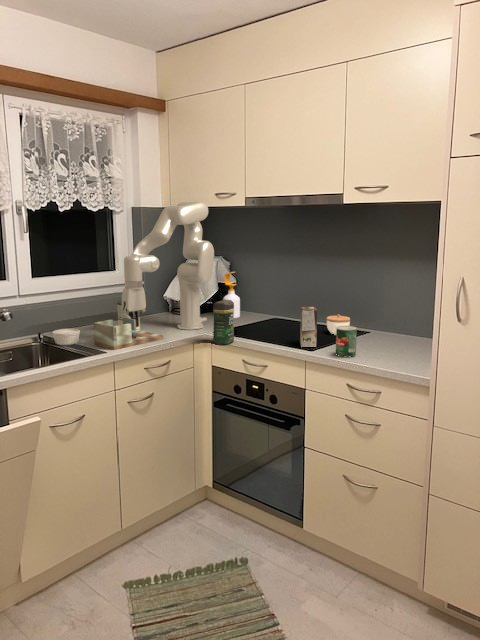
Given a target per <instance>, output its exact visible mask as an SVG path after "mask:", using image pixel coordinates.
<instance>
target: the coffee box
mask: <svg viewBox="0 0 480 640" xmlns="http://www.w3.org/2000/svg"><path fill="white" fill-rule="evenodd" d="M317 327H318V309H317V308H316V306H313V305H312V306H300V329H299V330H300V333H299V335H300V338H299V344H300V347H301V348H302V347H316V348H317V333H318V330H317V329H318V328H317Z"/></svg>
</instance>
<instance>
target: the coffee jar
mask: <svg viewBox="0 0 480 640" xmlns="http://www.w3.org/2000/svg"><path fill="white" fill-rule="evenodd" d="M212 306H213V309H212V310H213V334H212V337H213V338H212V339H213V340H212V342H213V343H214V344H216V345H229V344H231V343H233V342H234V341H235V328H234V318H233V315H234V302H233V301H232V300H223V299H222V300H219V301H215V302H214V303H213V305H212Z"/></svg>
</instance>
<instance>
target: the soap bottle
mask: <svg viewBox="0 0 480 640" xmlns="http://www.w3.org/2000/svg"><path fill="white" fill-rule="evenodd" d="M235 273H236V271H231V272H228V273H225V274H224V285H225V286H228V287H229V288H228V291H227V292H228V293H227V294H226V295H225V296H223V299H222V300H232V301H233V302H234V315H233V319H238V318H240V317H241V298H240V296H238V295H237V294H236V293H235V289H234V287H235V286H237V283H231V277H230V276H231V274H235Z"/></svg>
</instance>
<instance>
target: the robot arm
mask: <svg viewBox="0 0 480 640" xmlns="http://www.w3.org/2000/svg"><path fill="white" fill-rule="evenodd" d="M208 215H209V207H208V205H207V204H206V203H205V202H203V201H182V202H180V203H179V202H178V204H177V205H167V206H165V207H164V208H163V209H162V211H161V213H160V215H159V217H158V219H157V220H156V222H155V224H154V226H153V228H152V230H151V232H150V233H148V234H147V235H146V236H145V237H144V238H143V239H141V240H140V241H139V242H138V244H136V246H135V247H134V249H133V251H132V253H131V255H129V256H128V255H127V256H125V257H124V259H123V271H124V272H123V274H124V288H123V289H122V293H121V300H122V310H123V311H124V314H125V315H129V316H130V318H131V319H135V320H136V327H139V317H141V315H142V314H143V313H145V312H146V307H147V299H146V293H145V289H144V287H143V286H144V284H145V281H143V273H154V272H156V271H157V270H158V269H159V268H160V263H161V262H160V260H159V258H158V257H157V256H155V255H152V254H150V253H151V252H152V251H154V249H156V248H159V247H160V246H163V245H165V244H167V243H168V242H169V241H170V239H171V237H172V235H173V233H174V231H175V229H176V228H177V226H178V225H179V226H183V227H184V235H183V246H182V255H183V257H184V258H185V259H187V260H190V261H197V263H196V262H183V263H181V264H180V265H179V266H178V267H177V271H176V272H177V279H178V284H179V304H180V305H179V309H180V310H179V311H180V314H179V315H180V323H179V324H177V328H178V329H179V330H185V331H186V330H187V331H190V330H199V329H202V328H204V323H203V322H207V321H208V317H206V316H205V317H204V316H203V317H201V308H200V305H201V302H200V301H201V299H200V298H201V296H200V295H201V294H200V293H201V292H200V288H199V286H198V284H200V285H206V284H208V283H209V282H210V280H211V279H212V274H213V269H214V268H213V267H214V258H215V249H214V246H213V244H212V243H211V242H210V241H209V240H203V227H202V224H201V221H204V220H205V219H206V218H207V217H208Z"/></svg>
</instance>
